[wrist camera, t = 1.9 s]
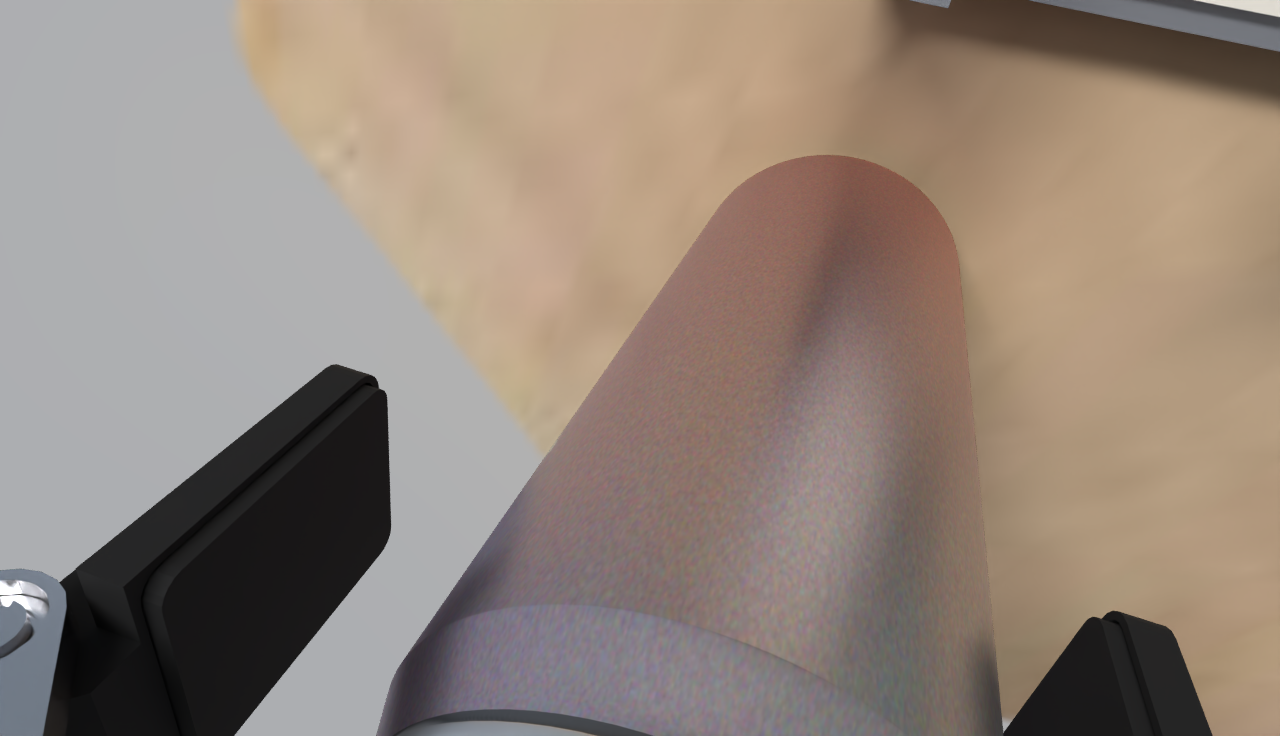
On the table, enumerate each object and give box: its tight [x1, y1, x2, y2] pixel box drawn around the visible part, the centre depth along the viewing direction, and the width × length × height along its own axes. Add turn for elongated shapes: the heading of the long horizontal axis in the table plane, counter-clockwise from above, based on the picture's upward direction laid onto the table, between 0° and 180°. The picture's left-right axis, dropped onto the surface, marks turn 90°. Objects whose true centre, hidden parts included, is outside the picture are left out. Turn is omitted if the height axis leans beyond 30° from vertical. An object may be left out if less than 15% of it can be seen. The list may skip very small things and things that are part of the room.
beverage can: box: [376, 155, 1003, 736], centre depth 12 cm, size 6×6×15 cm
